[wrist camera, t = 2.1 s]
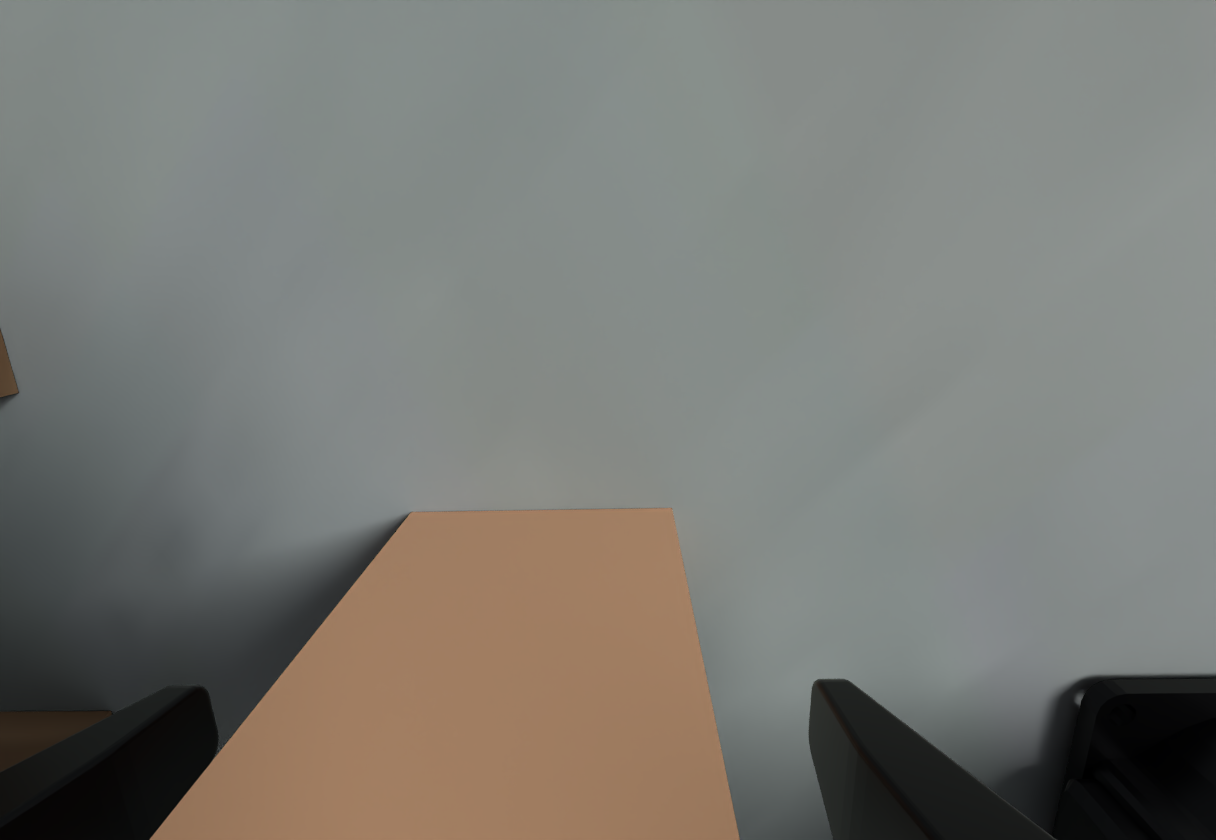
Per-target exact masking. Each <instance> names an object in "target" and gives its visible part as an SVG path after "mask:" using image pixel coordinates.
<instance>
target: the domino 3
mask: <svg viewBox="0 0 1216 840" xmlns="http://www.w3.org/2000/svg"><path fill="white" fill-rule="evenodd" d="M150 840H740V839H739V834H738V829H737V824H736V819H735V814H734V809H733V804H732V799H731V795H730V790H729V785H728V780H727V775H726V770H725V765H724V760H723V755H722V751H721V746H720V741H719V736H718V731H717V726H716V721H715V716H714V712H713V707H712V702H711V697H710V692H709V687H708V682H707V677H706V672H705V668H704V663H703V658H702V653H701V648H700V643H699V638H698V633H697V628H696V624H695V619H694V614H693V609H692V604H691V599H690V594H689V589H688V585H687V580H686V575H685V570H684V565H683V560H682V555H681V550H680V545H679V541H678V536H677V531H676V526H675V521H674V516H673V511H672V508H645V509H582V510H519V511H456V512H411V513H410V514H409V516H408V517H407V518H406V519H405V521H404V522H403V523H402V524H401V526H400V527H399V528H398V529H397V531H396V532H395V533H394V534H393V536H392V537H391V538H390V539H389V541H388V542H387V543H386V544H385V546H384V547H383V548H382V549H381V551H380V552H379V553H378V554H377V556H376V557H375V558H374V559H373V561H372V562H371V563H370V564H369V566H368V567H367V568H366V569H365V571H364V572H363V573H362V574H361V576H360V577H359V578H358V579H357V581H356V582H355V583H354V584H353V586H352V587H351V588H350V589H349V591H348V592H347V593H346V594H345V596H344V597H343V598H342V599H341V601H340V602H339V603H338V604H337V606H336V607H335V608H334V609H333V611H332V612H331V613H330V614H329V616H328V617H327V618H326V619H325V621H324V622H323V623H322V624H321V626H320V627H319V628H318V629H317V631H316V632H315V633H314V634H313V636H312V637H311V638H310V639H309V641H308V642H307V643H306V644H305V646H304V647H303V648H302V649H301V651H300V652H299V653H298V654H297V656H296V657H295V658H294V659H293V661H292V662H291V663H290V664H289V666H288V667H287V668H286V669H285V671H284V672H283V673H282V674H281V676H280V677H279V678H278V679H277V681H276V682H275V683H274V684H273V686H272V687H271V688H270V689H269V691H268V692H267V693H266V695H265V696H264V697H263V698H262V700H261V701H260V702H259V703H258V705H257V706H256V707H255V708H254V710H253V711H252V712H251V713H250V715H249V716H248V717H247V718H246V720H245V721H244V722H243V723H242V725H241V726H240V727H239V728H238V730H237V731H236V732H235V733H234V735H233V736H232V737H231V738H230V740H229V741H228V742H227V743H226V745H225V746H224V747H223V748H222V750H221V751H220V752H219V753H218V755H217V756H216V757H215V758H214V760H213V761H212V762H211V763H210V765H209V766H208V767H207V768H206V770H205V771H204V772H203V773H202V775H201V776H200V777H199V778H198V780H197V781H196V782H195V783H194V785H193V786H192V787H191V788H190V790H189V791H188V792H187V793H186V795H185V796H184V797H183V798H182V800H181V801H180V802H179V803H178V805H177V806H176V807H175V808H174V810H173V811H172V812H171V813H170V815H169V816H168V817H167V818H166V820H165V821H164V822H163V823H162V825H161V826H160V827H159V828H158V830H157V831H156V832H155V833H154V835H153V836H152V837H151V838H150Z"/></svg>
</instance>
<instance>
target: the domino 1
mask: <svg viewBox="0 0 1216 840" xmlns="http://www.w3.org/2000/svg"><path fill="white" fill-rule="evenodd" d="M16 393H19V392H18V389H17V385H16V382H15V378H14V375H13V371H12V368H11V365H10V361H9V358H8V354H7V351H6V347H5V344H4V340H3V337H2V334H1V330H0V397H3V396H7V395H12V394H16Z"/></svg>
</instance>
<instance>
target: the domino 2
mask: <svg viewBox="0 0 1216 840" xmlns="http://www.w3.org/2000/svg"><path fill="white" fill-rule="evenodd" d="M111 715H112V713H111V711H39V712H0V772H1V771H3V770H5V769H7V768H9V767H11V766H13V765H15V764H17V763H19V762H20V761H22V760H24V759H26V758H28V757H30V756H32V755H34V754H36V753H38V752H40V751H42V750H44V749H46V748H48V747H50V746H52V745H54V744H56V743H58V742H60V741H62V740H64V739H66V738H68V737H69V736H71V735H73V734H75V733H77V732H79V731H81V730H83V729H85V728H87V727H89V726H91V725H93V724H95V723H97V722H99V721H101V720H103V719H105V718H107V717H109V716H111Z"/></svg>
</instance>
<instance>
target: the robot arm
mask: <svg viewBox="0 0 1216 840" xmlns="http://www.w3.org/2000/svg"><path fill="white" fill-rule="evenodd" d="M809 745H810V750H811V755H812V759H813V763H814V766H815V770H816V774H817V778H818V782H819V786H820V790H821V793H822V797H823V801H824V805H825V809H826V813H827V817H828V821H829V824H830V828H831V832H832V836H833V840H1216V679H1121V680H1106V681H1101V682H1099V683H1097V684H1095V685H1093V686H1092V687H1091V688H1090V689H1089V690H1088V691H1087V692H1085V694H1084V696H1083V699H1082V701H1081V705H1080V710H1079V715H1078V719H1077V724H1076V728H1075V733H1074V738H1073V742H1072V747H1071V751H1070V756H1069V761H1068V765H1067V770H1066V775H1065V779H1064V784H1063V788H1062V793H1061V798H1060V802H1059V807H1058V811H1057V816H1056V821H1055V825H1054V830H1053V834H1052V836H1051V835H1050V834H1048V833H1047V832H1046V831H1044V830H1043V829H1042V828H1041V827H1039V826H1038V825H1037V824H1035V823H1034V822H1033V821H1031V820H1030V819H1029V818H1027V817H1026V816H1025V815H1024V814H1022V813H1021V812H1020V811H1018V810H1017V809H1016V808H1014V807H1013V806H1012V805H1011V804H1009V803H1008V802H1007V801H1005V800H1004V799H1003V798H1001V797H1000V796H999V795H997V794H996V793H995V792H994V791H992V790H991V789H990V788H988V787H987V786H986V785H984V784H983V783H982V782H981V781H979V780H978V779H977V778H975V777H974V776H973V775H971V774H970V773H969V772H967V771H966V770H965V769H964V768H962V767H961V766H960V765H958V764H957V763H956V762H954V761H953V760H952V759H951V758H949V757H948V756H947V755H945V754H944V753H943V752H941V751H940V750H939V749H938V748H936V747H935V746H934V745H932V744H931V743H930V742H928V741H927V740H926V739H924V738H923V737H922V736H921V735H919V734H918V733H917V732H915V731H914V730H913V729H911V728H910V727H909V726H908V725H906V724H905V723H904V722H902V721H901V720H900V719H898V718H897V717H896V716H894V715H893V714H892V713H891V712H889V711H888V710H887V709H885V708H884V707H883V706H881V705H880V704H879V703H878V702H876V701H875V700H874V699H872V698H871V697H870V696H868V695H867V694H866V693H864V692H863V691H862V690H861V689H859V688H858V687H857V686H855V685H854V684H853V683H851V682H850V681H848V680H846V679H818V680H816V681H815V682H814V684H813V686H812V693H811V706H810V719H809ZM217 747H218V731H217V726H216V722H215V718H214V714H213V710H212V705H211V701H210V697H209V694H208V691H207V690H206V689H205V688H204V687H203V686H200V685H172V686H168V687H166V688H164V689H162V690H160V691H158V692H156V693H154V694H152V695H150V696H148V697H146V698H144V699H142V700H140V701H138V702H136V703H134V704H132V705H130V706H128V707H126V708H124V709H122V710H120V711H118V712H117V713H115V714H113V715H111V716H109V717H107V718H105V719H103V720H101V721H99V722H97V723H95V724H93V725H91V726H89V727H87V728H85V729H83V730H81V731H79V732H77V733H75V734H73V735H71V736H69V737H68V738H66V739H64V740H62V741H60V742H58V743H56V744H54V745H52V746H50V747H48V748H46V749H44V750H42V751H40V752H38V753H36V754H34V755H32V756H30V757H28V758H26V759H24V760H22V761H20V762H19V763H17V764H15V765H13V766H11V767H9V768H7V769H5V770H3V771H1V772H0V840H150V838H151V837H152V836H153V835H154V833H155V832H156V831H157V830H158V828H159V827H160V826H161V825H162V823H163V822H164V821H165V820H166V818H167V817H168V816H169V815H170V813H171V812H172V811H173V810H174V808H175V807H176V806H177V805H178V803H179V802H180V801H181V800H182V798H183V797H184V796H185V795H186V793H187V792H188V791H189V790H190V788H191V787H192V786H193V785H194V783H195V782H196V781H197V780H198V778H199V777H200V776H201V775H202V773H203V772H204V771H205V770H206V768H207V767H208V766H209V765H210V763H211V762H212V761H213V759H214V756H215V754H216V751H217Z"/></svg>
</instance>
